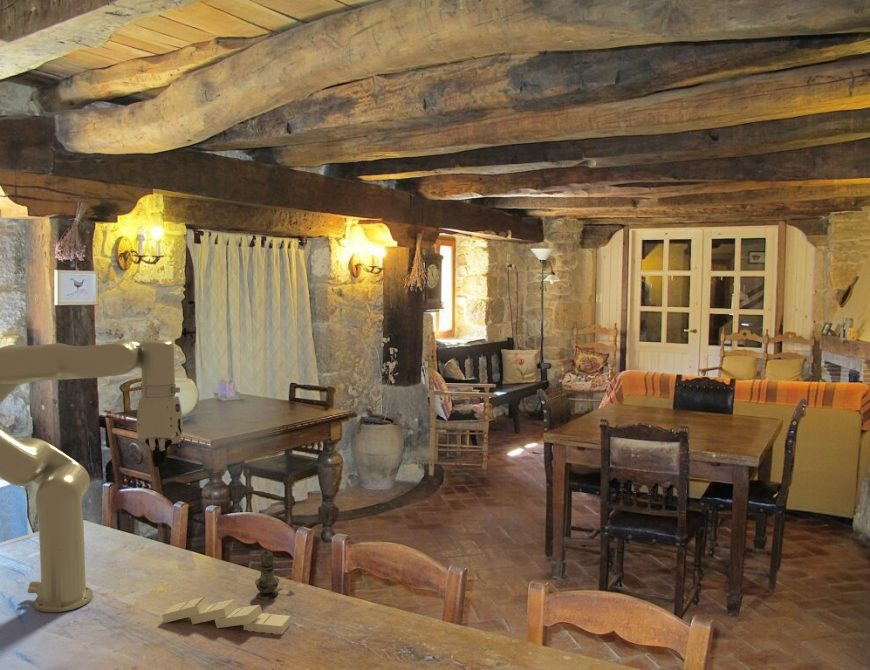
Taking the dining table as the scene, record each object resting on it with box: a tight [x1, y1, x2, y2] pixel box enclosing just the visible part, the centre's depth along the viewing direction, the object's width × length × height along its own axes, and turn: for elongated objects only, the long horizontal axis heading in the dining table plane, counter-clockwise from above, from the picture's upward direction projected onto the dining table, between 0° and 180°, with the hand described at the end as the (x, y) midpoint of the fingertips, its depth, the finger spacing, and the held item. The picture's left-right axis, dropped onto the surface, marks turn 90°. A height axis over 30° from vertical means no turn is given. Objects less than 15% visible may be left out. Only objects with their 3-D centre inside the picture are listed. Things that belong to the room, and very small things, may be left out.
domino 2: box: [189, 598, 238, 625], centre depth 169 cm, size 2×5×9 cm
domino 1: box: [161, 595, 211, 624], centre depth 170 cm, size 2×5×9 cm
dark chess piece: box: [254, 547, 280, 601], centre depth 183 cm, size 6×6×12 cm
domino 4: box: [243, 612, 292, 636], centre depth 167 cm, size 2×5×9 cm
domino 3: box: [214, 604, 263, 629], centre depth 167 cm, size 2×5×9 cm
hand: (160, 465), depth 181 cm, fingers closed
